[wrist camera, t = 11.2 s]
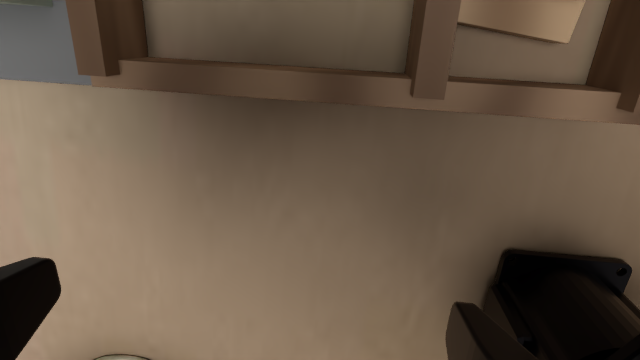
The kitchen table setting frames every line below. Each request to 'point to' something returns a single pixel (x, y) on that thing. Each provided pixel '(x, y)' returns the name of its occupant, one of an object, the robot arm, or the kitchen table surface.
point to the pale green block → (28, 2)
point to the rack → (367, 86)
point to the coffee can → (120, 357)
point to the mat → (38, 44)
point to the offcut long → (524, 17)
